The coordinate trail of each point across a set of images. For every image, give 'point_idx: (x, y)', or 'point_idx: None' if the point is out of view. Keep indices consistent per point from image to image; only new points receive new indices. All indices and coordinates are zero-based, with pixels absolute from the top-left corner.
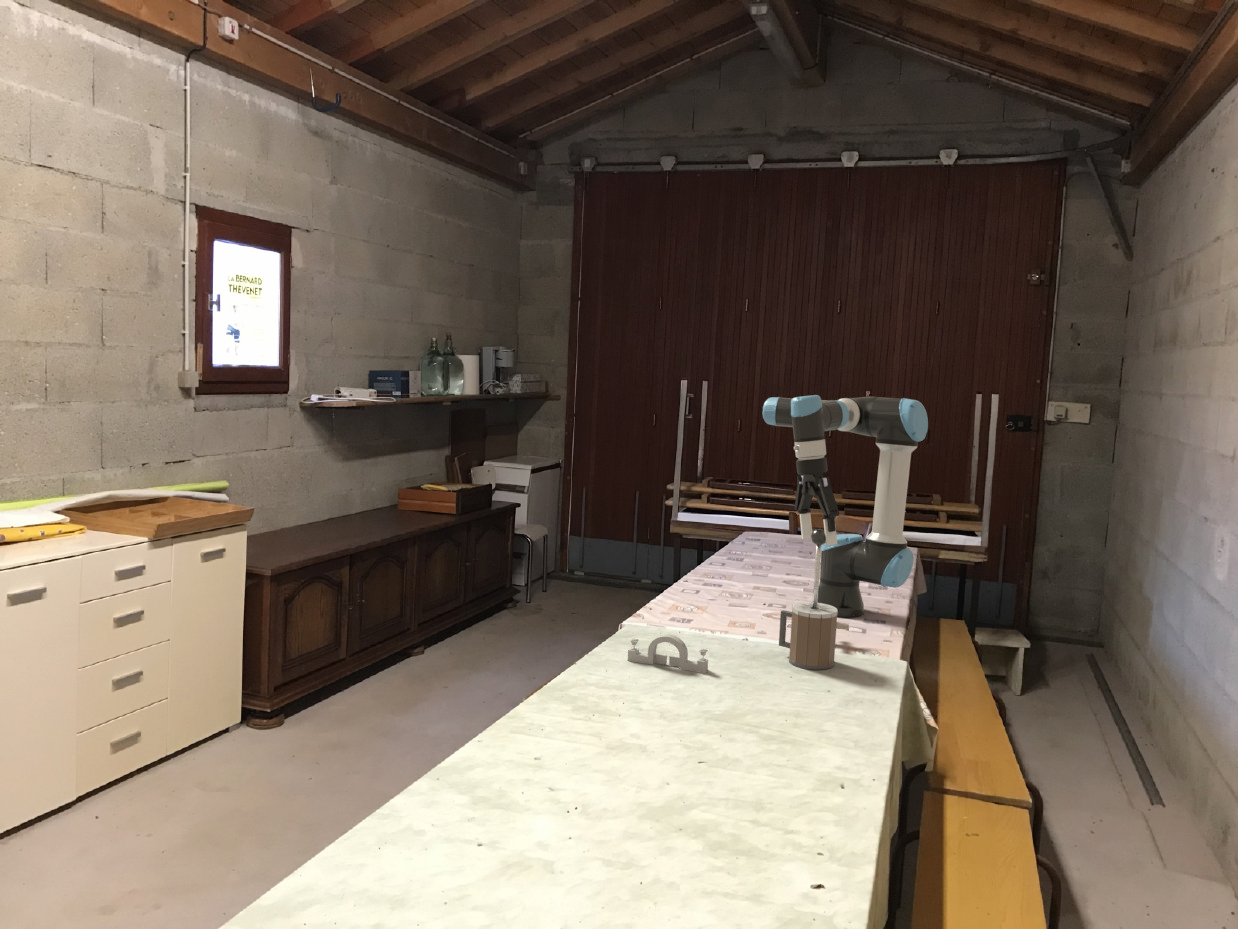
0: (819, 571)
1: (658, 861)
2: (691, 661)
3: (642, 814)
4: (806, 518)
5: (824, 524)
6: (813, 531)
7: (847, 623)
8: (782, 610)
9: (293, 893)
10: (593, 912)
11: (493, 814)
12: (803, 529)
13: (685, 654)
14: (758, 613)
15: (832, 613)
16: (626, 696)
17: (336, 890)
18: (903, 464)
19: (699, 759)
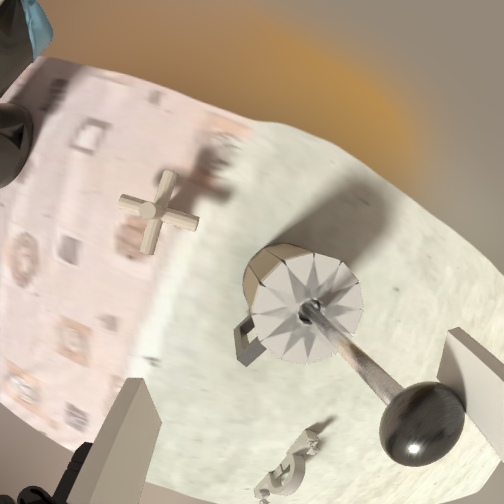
0: (356, 345)
1: None
2: (298, 450)
3: None
4: (116, 497)
5: (497, 441)
6: (423, 465)
7: (171, 174)
8: (241, 362)
9: (475, 490)
10: None
11: (469, 473)
12: (146, 459)
13: (302, 462)
14: (16, 291)
15: (357, 279)
16: (365, 478)
17: (480, 483)
18: None
19: None
